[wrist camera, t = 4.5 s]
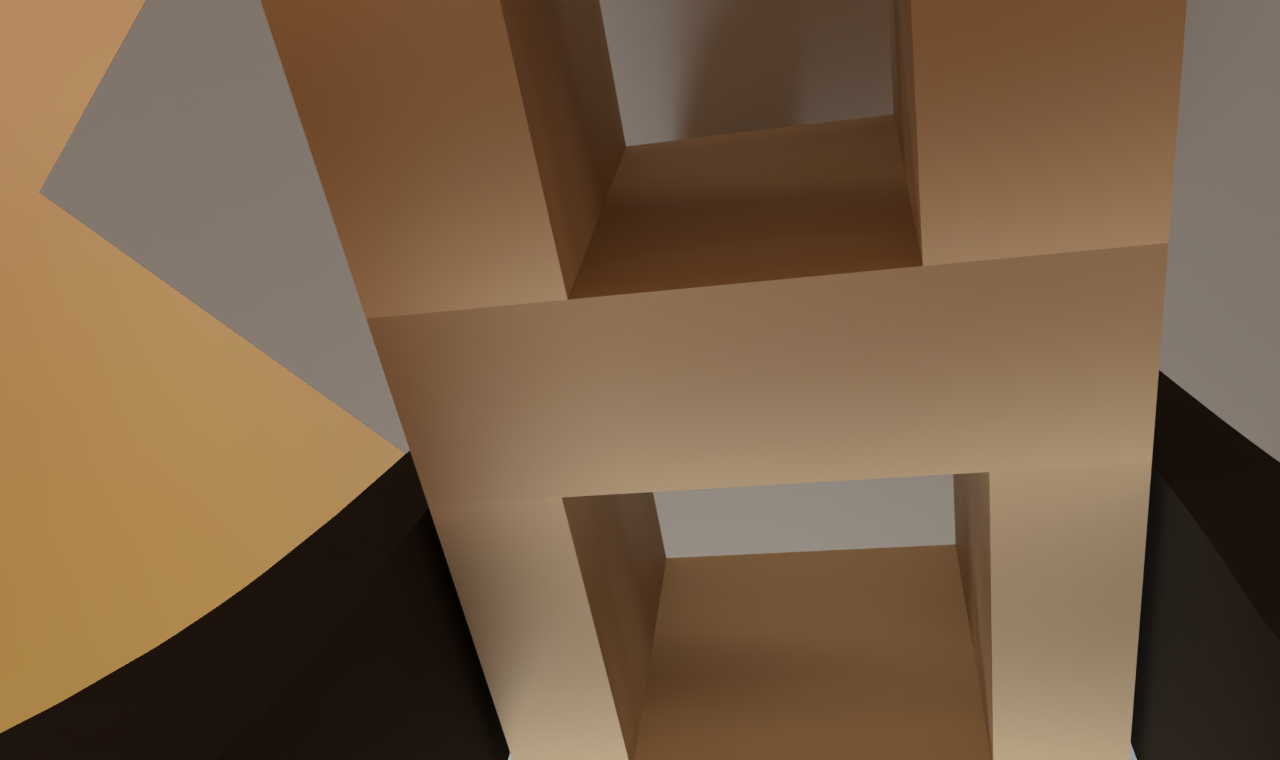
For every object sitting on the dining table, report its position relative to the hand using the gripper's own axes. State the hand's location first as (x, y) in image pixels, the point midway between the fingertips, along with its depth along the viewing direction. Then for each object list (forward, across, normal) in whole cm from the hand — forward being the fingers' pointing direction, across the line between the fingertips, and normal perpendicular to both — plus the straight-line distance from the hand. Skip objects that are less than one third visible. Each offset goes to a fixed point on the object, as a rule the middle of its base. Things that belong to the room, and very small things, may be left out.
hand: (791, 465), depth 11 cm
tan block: (0, 0, 0) cm, 1 cm away
